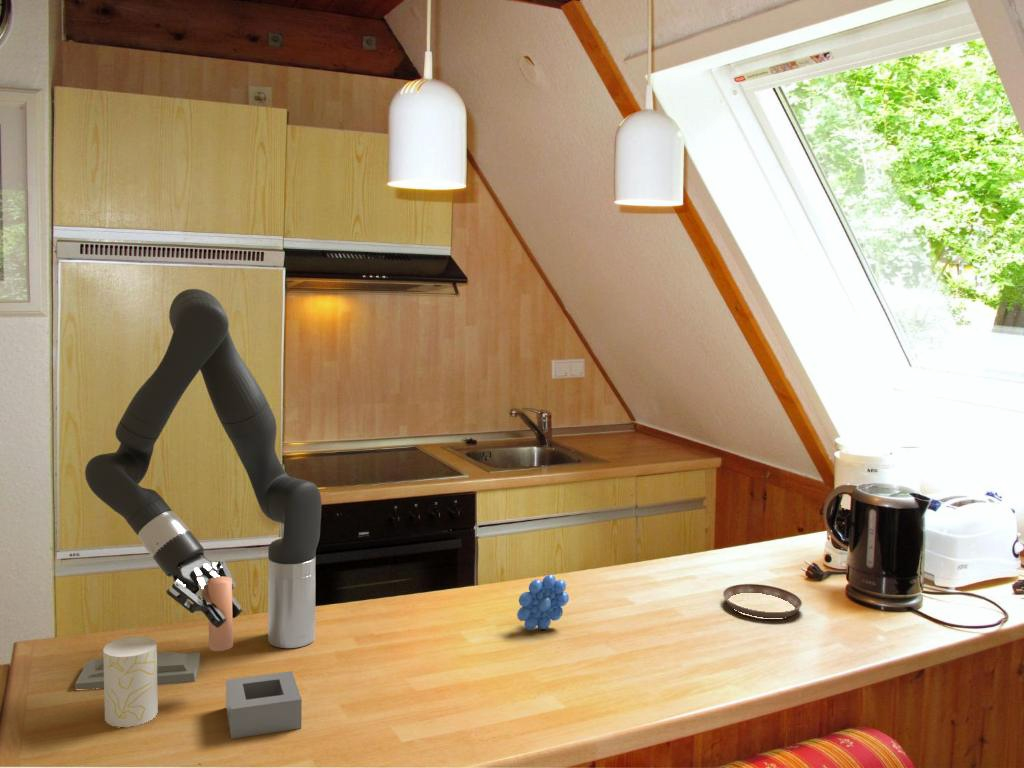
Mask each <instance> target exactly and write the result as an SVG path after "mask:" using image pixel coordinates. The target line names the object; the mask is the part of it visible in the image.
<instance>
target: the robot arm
mask: <svg viewBox="0 0 1024 768" xmlns="http://www.w3.org/2000/svg"><path fill="white" fill-rule="evenodd" d="M168 311H169V313H168V314H169V315H168V318H169V324H170V326H171V329H172V331H173V332H172V336H171V337H170V341H169V344H168V347H167V349H166V350H165V354H164V355H163V358H162V359H161V361H160V363H159V365H158V366H157V367H156V369H155V370H154V371H153V373H152V374H151V375H150V377H148V378H147V379H146V381H145V382H144V383H143V384H142V385H141V386H140V388H139V389H138V391H137V392H136V393H135V394H134V396H133V397H132V398H131V401H130V402H129V404H128V406H127V407H126V409H125V411H124V413H123V414H122V417H121V418H120V420H119V422H118V424H117V426H116V429H115V433H114V435H115V437H116V439H117V440H118V442H119V443H120V444H119V447H118V448H117V450H116V451H115V452H109V453H102V454H98V455H95V456H94V457H93V458H91V459H90V460H89V461H88V462H87V464H86V466H85V472H84V475H85V480H86V482H87V485H88V487H89V489H90V491H92V492H93V494H94V495H95V496H96V497H97V498H99V499H100V500H101V501H102V502H103V503H104V504H105V505H107V506H108V507H109V508H111V509H112V510H113V511H115V512H116V513H117V514H118V515H120V516H121V517H123V518H124V519H125V521H126V523H127V524H128V525H129V527H130V528H131V529H132V530H133V532H134V533H135V534H136V536H137V537H138V538H139V540H140V542H141V544H142V546H143V547H144V549H145V550H146V551H147V552H148V553H149V555H150V556H151V557H152V558H153V561H155V562H156V565H158V567H159V568H160V570H162V571H163V573H164V574H165V575H166V576H167V577H168V578H169V577H172V579H173V581H174V582H173V583H172V584H171V585H170V587H168V588H167V590H166V592H165V593H166V594H167V595H168V596H169V597H170V598H172V599H173V600H174V601H176V602H177V603H178V604H179V605H180V606H182V607H183V608H184V609H186V611H188V612H190V613H191V614H194V613H195V612H199V613H203V614H204V616H206V618H207V619H209V621H210V622H211V623H212V624H213V625H214V626H215V627H217V628H218V627H220V626H221V625H222V624H224V623H225V622H226V618H225V617H224V615H223V614H222V613H221V612H220V610H219V609H218V608H217V606H216V605H215V604H214V603H213V604H212V600H211V599H210V597H209V595H208V580H209V579H211V578H214V577H220V576H225V577H230V578H231V579H232V591H233V590H234V588H235V587H236V582H235V579H234V578H233V576H232V573H231V571H230V569H229V568H228V565H227V562H226V561H225V559H220V560H219V561H218V562H212V561H211V560H210V559H208V558H207V557H205V555H204V552H205V548H204V546H203V545H202V544H201V543H200V541H199V540H198V539H197V538H196V536H195V535H194V534H193V532H192V531H190V528H189V527H188V526H187V525H186V524H185V522H184V521H183V520H182V519H181V518H180V517H179V516H178V515H177V514H176V513H175V512H174V511H173V510H172V508H171V507H170V506H169V505H168V504H167V502H166V501H165V499H164V498H163V497H162V495H161V494H159V492H157V491H156V490H154V489H152V488H151V489H150V488H147V487H143V486H140V485H139V484H140V483H141V482H142V481H143V479H144V478H145V476H146V474H147V473H148V470H149V467H150V464H151V460H152V456H153V453H154V447H155V443H156V442H157V441H158V439H159V437H160V435H161V434H162V432H163V429H164V428H165V426H166V424H168V421H169V419H170V418H171V415H172V414H173V412H174V410H175V408H176V407H177V405H178V403H179V401H180V399H181V398H182V396H183V395H184V394H185V392H186V391H187V389H188V387H189V386H190V384H191V383H192V382H193V380H194V378H195V377H196V376H197V374H198V373H199V372H200V373H201V376H202V379H203V381H204V384H205V388H206V390H207V393H208V396H209V398H210V401H211V405H212V407H213V408H214V411H215V413H216V415H217V419H219V422H220V423H221V426H222V428H223V429H224V431H225V434H226V435H227V437H228V439H229V440H230V442H231V444H232V446H233V447H234V449H235V452H236V454H237V456H238V458H239V460H240V462H241V464H242V465H243V467H244V470H245V472H246V474H247V476H248V479H249V481H250V485H251V487H252V489H253V492H254V494H255V495H254V496H255V498H256V500H257V503H258V505H259V508H260V510H261V511H262V513H263V514H264V515H265V516H266V518H268V519H270V520H271V521H273V522H277V523H281V524H283V535H282V538H278V539H276V540H273V541H272V542H271V543H269V545H268V549H267V559H268V560H267V561H268V563H267V564H268V566H267V568H268V569H267V570H268V575H267V576H268V577H267V578H268V579H267V581H268V585H267V586H268V590H267V591H268V594H267V595H268V597H267V598H268V600H267V604H268V607H267V610H268V616H267V617H268V619H267V620H268V621H267V625H268V627H267V629H268V630H267V632H268V633H267V641H268V644H270V645H272V646H273V647H276V648H280V649H296V648H302V647H305V646H307V645H309V644H312V643H313V642H314V641H315V638H316V566H317V565H316V560H317V559H316V557H317V556H316V554H317V553H316V552H317V548H318V546H319V545H318V544H319V542H320V536H321V521H322V520H321V519H322V496H321V492H320V489H319V487H318V486H317V485H316V484H315V483H314V482H312V481H309V480H305V479H301V478H297V477H292V476H289V474H288V473H287V472H286V469H284V467H283V465H282V464H281V462H280V459H279V457H278V455H277V451H276V438H277V428H278V427H277V421H276V417H275V415H274V412H273V410H272V407H271V406H270V404H269V402H268V400H267V398H266V395H265V394H264V393H263V390H262V389H261V387H260V385H259V383H258V382H257V380H256V378H255V377H254V375H253V373H252V372H251V370H250V369H249V368H248V367H249V366H247V365H246V363H245V361H244V360H243V359H242V357H241V355H240V354H239V352H238V349H237V348H236V346H235V344H234V342H233V339H232V336H231V334H230V332H229V325H230V324H229V322H230V321H229V319H228V315H227V313H226V311H225V309H224V307H223V306H222V304H221V302H220V301H219V300H218V299H217V298H216V297H215V296H213V294H211V293H210V292H207V291H205V290H203V289H198V288H189V289H185V290H183V291H181V292H180V293H178V294H177V295H175V296H174V298H173V300H172V302H171V304H170V308H169V310H168ZM191 602H192V603H191ZM242 612H243V609H242V606H241V604H240V603H239V601H237V599H236V598H235V597H234V595H232V616H233V619H235V618H237V617H238V616H239V615H240V614H241V613H242ZM209 621H208V622H209Z"/></svg>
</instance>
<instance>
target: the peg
mask: <svg viewBox="0 0 1024 768" xmlns="http://www.w3.org/2000/svg"><path fill="white" fill-rule="evenodd" d="M208 595H209V597H210V599H211V600H212V604H213V603H214V604H215V605H216V606H217V608H218V609H219V610H220V612H221V613H222V614H223V615H224V617H225V618H226V622H225V623H224V624H222V625H221V626H220V627H218V628H217V627H215V626H214V625H213V624H212V623H211V622H210V621H209V619H208V618H207V619H208V649H209V650H211V651H213V652H223V651H228V650H230V649H231V648H233V647H234V632H233V631H234V630H233V629H234V626H233V625H234V624H233V621H234V620H233V619H234V618H233V616H232V596H233V590H232V579H231V578H230V577H225V576H220V577H214V578H211V579H209V580H208Z"/></svg>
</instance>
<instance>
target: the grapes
mask: <svg viewBox="0 0 1024 768" xmlns="http://www.w3.org/2000/svg"><path fill="white" fill-rule="evenodd" d="M566 589H567V583H566V581H565V580H564V579H558V580H556V577H555V576H554V575H553V574H547V575H545V576H544V577H543V579H542V580H541V579H534V580H533V579H532V581H531V582H530V583H529V584H528V590H529V591H525V592H523V593H521V595H520V596H519V598H518V603H519V605H520V606H521V607H519V609H518V610H517V613H516V617H517V620H519V621H520V622H524V628H525V629H526V630H527V631H532V630H535V629H536V628H538V630H540V629H545V630H547V629H548V628H549V627H550V625H551V622H552V621H553V622H554V621H556V622H557V621H558V620H560V619H561V618H562V616H563V613H564V610H563V608H562V607H565V606H566V605H567V604H568V603H569V600H570V597H569V594H568V593H567V592H566V591H565V590H566Z"/></svg>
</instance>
